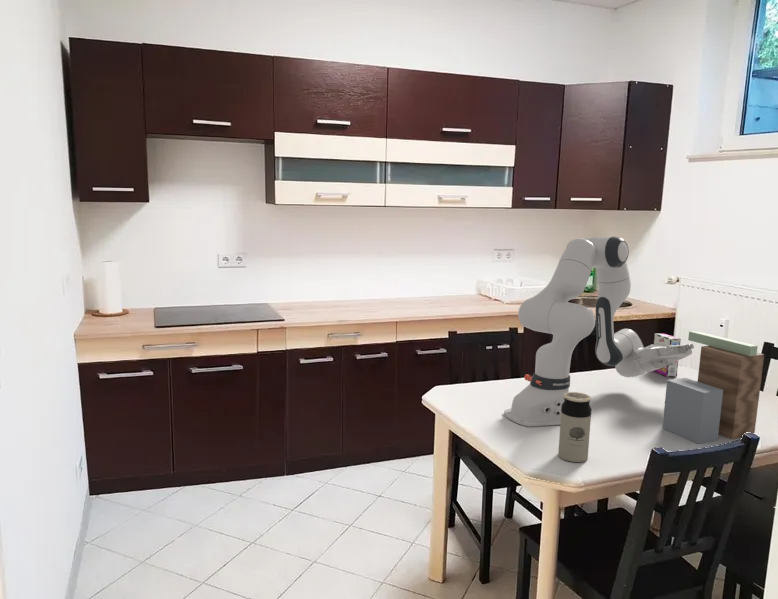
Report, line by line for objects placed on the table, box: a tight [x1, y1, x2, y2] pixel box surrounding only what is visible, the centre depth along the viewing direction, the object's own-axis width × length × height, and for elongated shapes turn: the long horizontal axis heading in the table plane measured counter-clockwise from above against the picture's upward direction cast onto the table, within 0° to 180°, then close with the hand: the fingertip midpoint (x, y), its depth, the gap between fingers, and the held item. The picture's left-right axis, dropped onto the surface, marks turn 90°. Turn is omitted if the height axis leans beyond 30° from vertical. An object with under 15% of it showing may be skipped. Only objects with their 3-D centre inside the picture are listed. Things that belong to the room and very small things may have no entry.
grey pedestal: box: [661, 377, 723, 445], centre depth 184 cm, size 8×14×16 cm, turn 23°
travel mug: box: [557, 391, 592, 463], centre depth 165 cm, size 8×8×18 cm
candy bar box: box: [653, 333, 682, 378], centre depth 250 cm, size 11×5×16 cm, turn 10°
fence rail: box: [688, 330, 758, 356], centre depth 189 cm, size 3×22×3 cm, turn 23°
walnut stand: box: [697, 345, 765, 440], centre depth 188 cm, size 10×14×26 cm
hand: (682, 346), depth 203 cm, fingers open, 8 cm apart
